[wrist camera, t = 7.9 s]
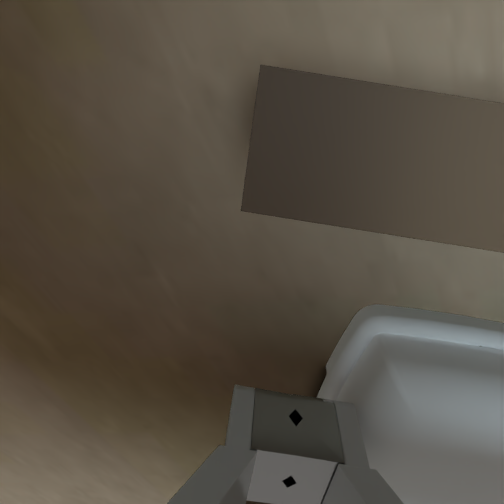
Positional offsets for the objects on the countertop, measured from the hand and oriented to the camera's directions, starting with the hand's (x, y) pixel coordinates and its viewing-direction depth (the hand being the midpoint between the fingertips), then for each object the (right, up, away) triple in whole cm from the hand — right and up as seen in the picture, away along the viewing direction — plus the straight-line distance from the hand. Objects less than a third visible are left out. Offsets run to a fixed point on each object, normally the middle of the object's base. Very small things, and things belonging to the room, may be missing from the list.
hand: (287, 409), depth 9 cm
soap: (+6, -1, +2) cm, 6 cm away
